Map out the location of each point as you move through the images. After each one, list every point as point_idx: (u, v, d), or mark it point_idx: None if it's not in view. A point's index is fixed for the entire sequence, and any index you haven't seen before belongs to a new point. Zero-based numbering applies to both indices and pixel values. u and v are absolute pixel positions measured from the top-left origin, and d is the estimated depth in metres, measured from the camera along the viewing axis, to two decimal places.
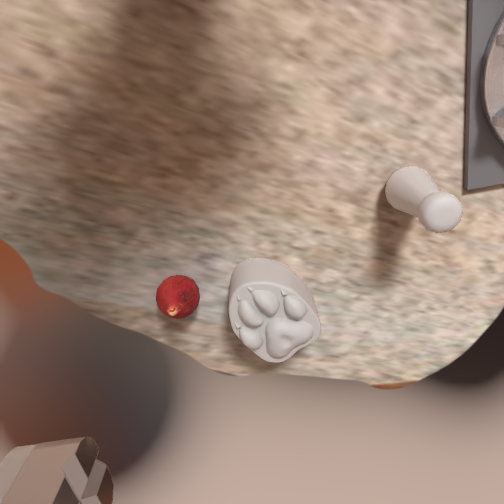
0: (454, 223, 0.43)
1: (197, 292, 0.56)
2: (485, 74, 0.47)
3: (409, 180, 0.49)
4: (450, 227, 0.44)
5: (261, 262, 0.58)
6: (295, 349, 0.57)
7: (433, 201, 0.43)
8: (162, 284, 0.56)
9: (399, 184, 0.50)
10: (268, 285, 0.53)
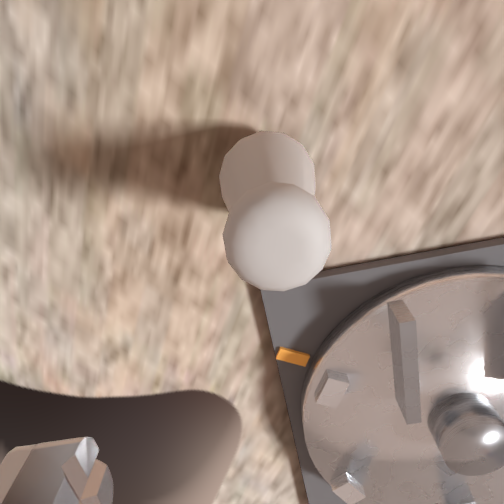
0: (257, 277, 0.16)
1: None
2: (465, 274, 0.28)
3: (305, 168, 0.22)
4: (245, 270, 0.16)
5: None
6: None
7: (318, 213, 0.15)
8: None
9: (290, 150, 0.22)
10: None
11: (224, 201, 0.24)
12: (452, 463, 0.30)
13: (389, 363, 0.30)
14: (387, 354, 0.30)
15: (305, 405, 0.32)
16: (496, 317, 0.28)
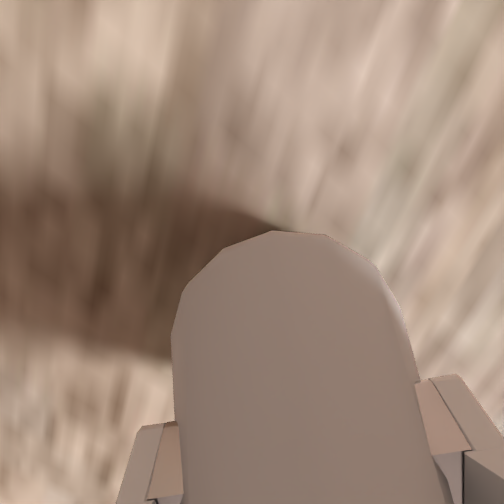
0: None
1: None
2: None
3: (411, 381, 0.07)
4: None
5: None
6: None
7: None
8: None
9: (362, 318, 0.08)
10: None
11: None
12: None
13: None
14: None
15: None
16: None
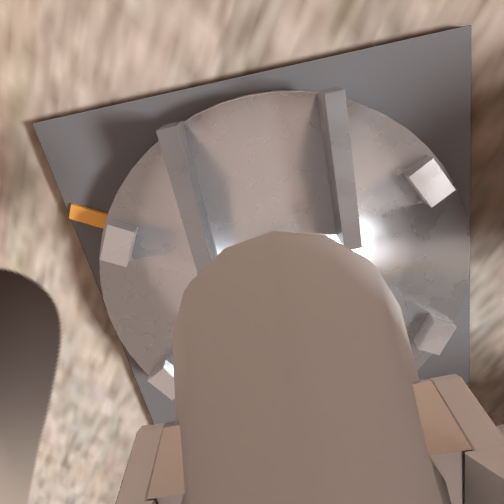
0: None
1: None
2: (261, 93, 0.23)
3: (410, 381, 0.07)
4: None
5: None
6: None
7: None
8: None
9: (362, 318, 0.08)
10: None
11: None
12: None
13: None
14: None
15: None
16: (300, 147, 0.24)
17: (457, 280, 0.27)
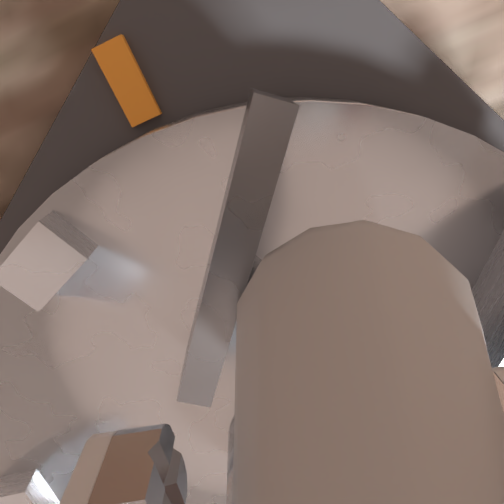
0: None
1: None
2: None
3: None
4: None
5: None
6: None
7: None
8: None
9: (457, 331, 0.07)
10: None
11: (235, 377, 0.10)
12: None
13: (202, 259, 0.13)
14: (204, 234, 0.13)
15: None
16: (452, 244, 0.13)
17: None
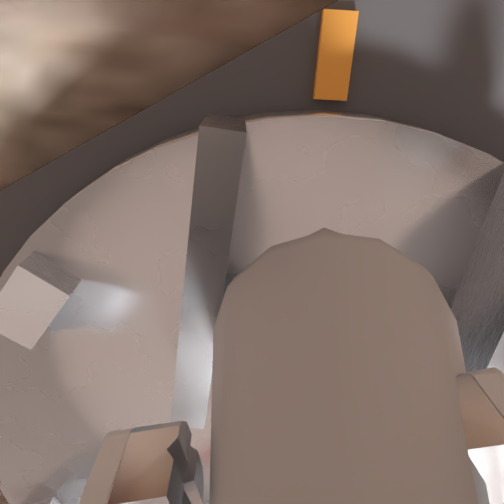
0: None
1: None
2: (402, 123, 0.12)
3: None
4: None
5: None
6: None
7: None
8: None
9: (414, 338, 0.07)
10: None
11: None
12: None
13: (183, 283, 0.13)
14: (183, 259, 0.13)
15: None
16: (432, 244, 0.13)
17: None
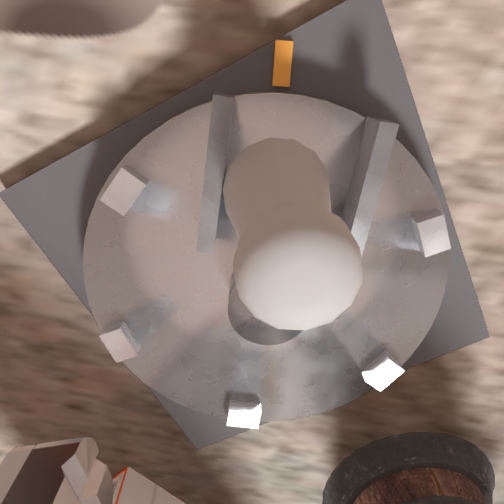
0: (274, 317, 0.14)
1: None
2: (315, 98, 0.24)
3: (321, 181, 0.19)
4: (260, 308, 0.13)
5: None
6: None
7: (348, 240, 0.13)
8: None
9: (304, 160, 0.20)
10: None
11: (229, 216, 0.22)
12: (235, 318, 0.25)
13: (202, 182, 0.25)
14: (202, 169, 0.24)
15: (92, 211, 0.26)
16: (332, 161, 0.24)
17: (419, 329, 0.29)
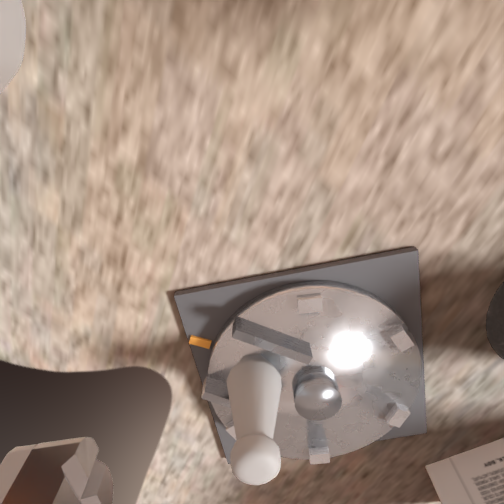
0: (267, 480, 0.35)
1: None
2: (219, 337, 0.46)
3: (245, 389, 0.40)
4: (262, 483, 0.35)
5: (15, 13, 0.34)
6: None
7: (244, 453, 0.34)
8: None
9: (236, 387, 0.41)
10: None
11: None
12: (317, 417, 0.45)
13: None
14: None
15: None
16: None
17: (379, 311, 0.43)
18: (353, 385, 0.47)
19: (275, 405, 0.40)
